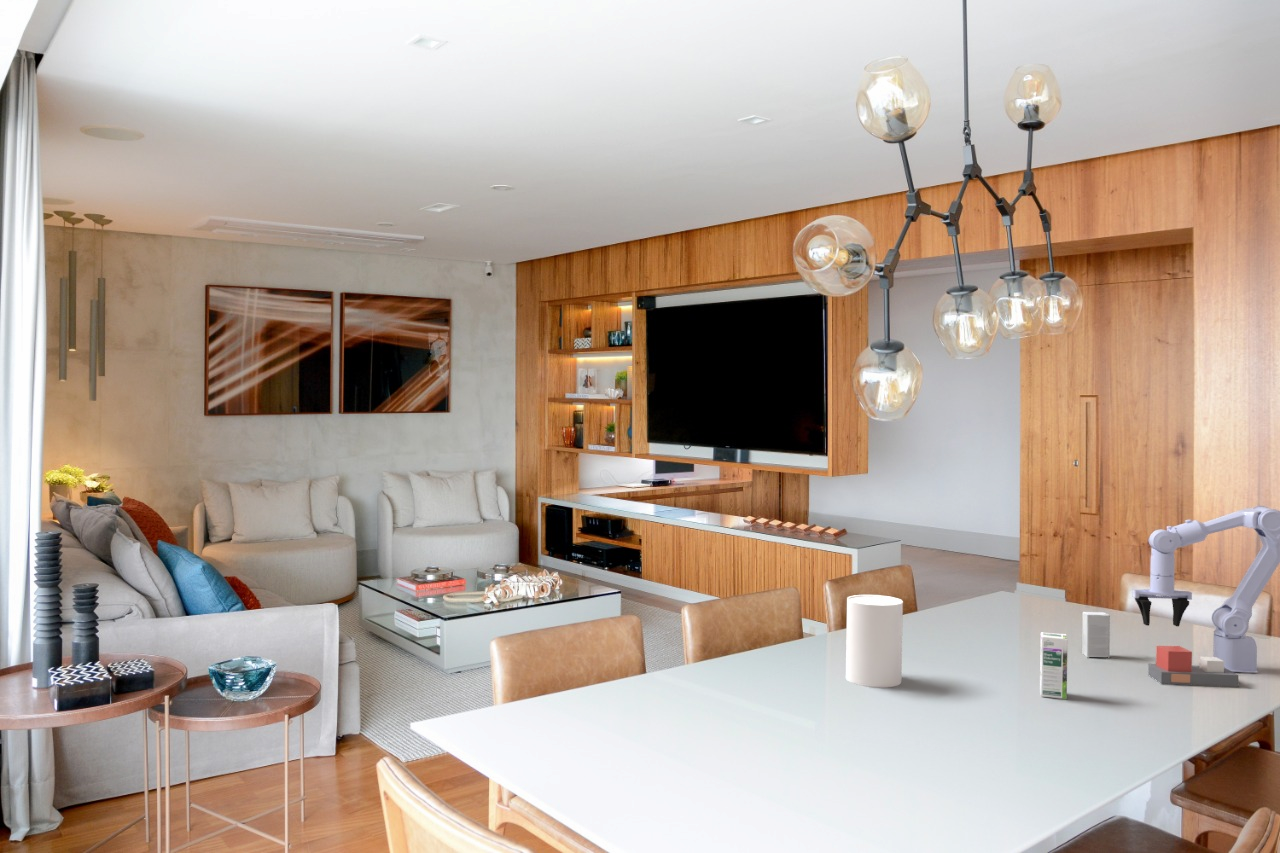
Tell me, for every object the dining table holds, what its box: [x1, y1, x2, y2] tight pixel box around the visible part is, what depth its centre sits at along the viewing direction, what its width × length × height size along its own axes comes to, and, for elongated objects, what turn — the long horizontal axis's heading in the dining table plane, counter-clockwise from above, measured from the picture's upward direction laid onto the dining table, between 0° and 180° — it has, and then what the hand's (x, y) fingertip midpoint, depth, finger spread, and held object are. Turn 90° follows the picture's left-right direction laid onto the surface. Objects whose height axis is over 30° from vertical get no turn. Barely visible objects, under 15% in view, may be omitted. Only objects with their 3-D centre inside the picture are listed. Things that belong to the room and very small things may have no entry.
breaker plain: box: [1199, 656, 1224, 673], centre depth 245 cm, size 4×4×4 cm
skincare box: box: [1081, 611, 1111, 659], centre depth 269 cm, size 6×4×12 cm
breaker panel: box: [1147, 663, 1239, 688], centre depth 245 cm, size 18×8×3 cm, turn 83°
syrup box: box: [1039, 631, 1069, 700], centre depth 232 cm, size 6×6×14 cm
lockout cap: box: [1155, 645, 1193, 672], centre depth 246 cm, size 6×6×5 cm
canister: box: [845, 594, 904, 688], centre depth 244 cm, size 14×14×20 cm
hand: (1161, 625), depth 262 cm, fingers open, 7 cm apart
